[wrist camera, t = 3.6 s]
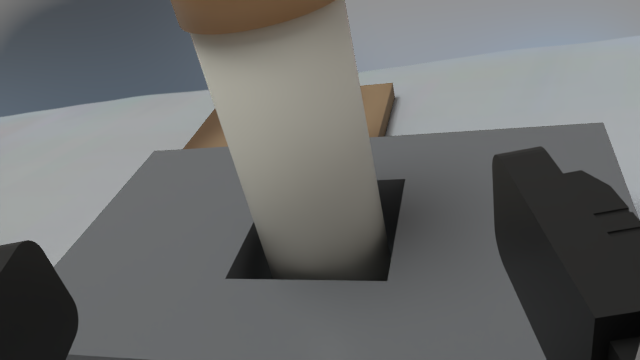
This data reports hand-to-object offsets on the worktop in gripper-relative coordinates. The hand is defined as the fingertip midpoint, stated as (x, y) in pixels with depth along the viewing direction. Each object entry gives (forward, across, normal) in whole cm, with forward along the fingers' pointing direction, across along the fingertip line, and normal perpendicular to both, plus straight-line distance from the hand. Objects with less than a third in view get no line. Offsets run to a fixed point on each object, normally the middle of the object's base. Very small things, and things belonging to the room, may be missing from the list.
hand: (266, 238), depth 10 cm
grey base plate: (+8, 0, +10) cm, 13 cm away
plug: (+8, 0, +10) cm, 13 cm away
